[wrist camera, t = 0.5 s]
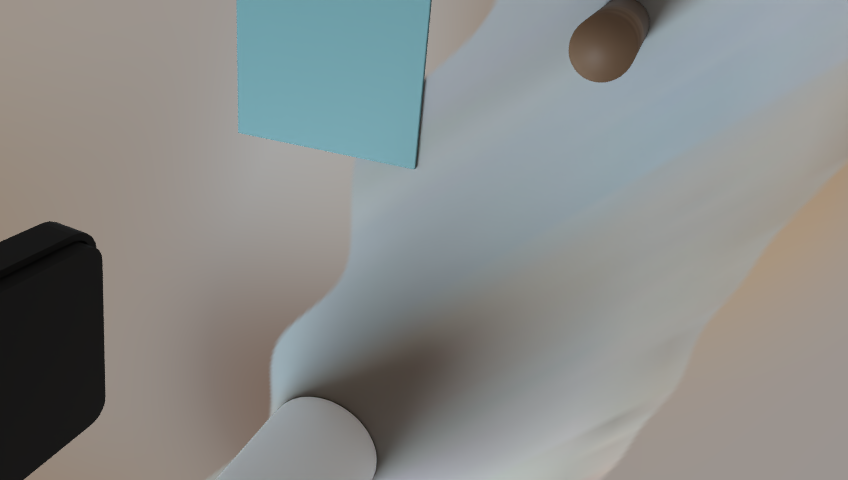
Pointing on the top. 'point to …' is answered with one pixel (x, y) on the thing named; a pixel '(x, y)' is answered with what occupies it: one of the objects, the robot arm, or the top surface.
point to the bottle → (306, 446)
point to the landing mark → (334, 74)
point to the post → (609, 40)
